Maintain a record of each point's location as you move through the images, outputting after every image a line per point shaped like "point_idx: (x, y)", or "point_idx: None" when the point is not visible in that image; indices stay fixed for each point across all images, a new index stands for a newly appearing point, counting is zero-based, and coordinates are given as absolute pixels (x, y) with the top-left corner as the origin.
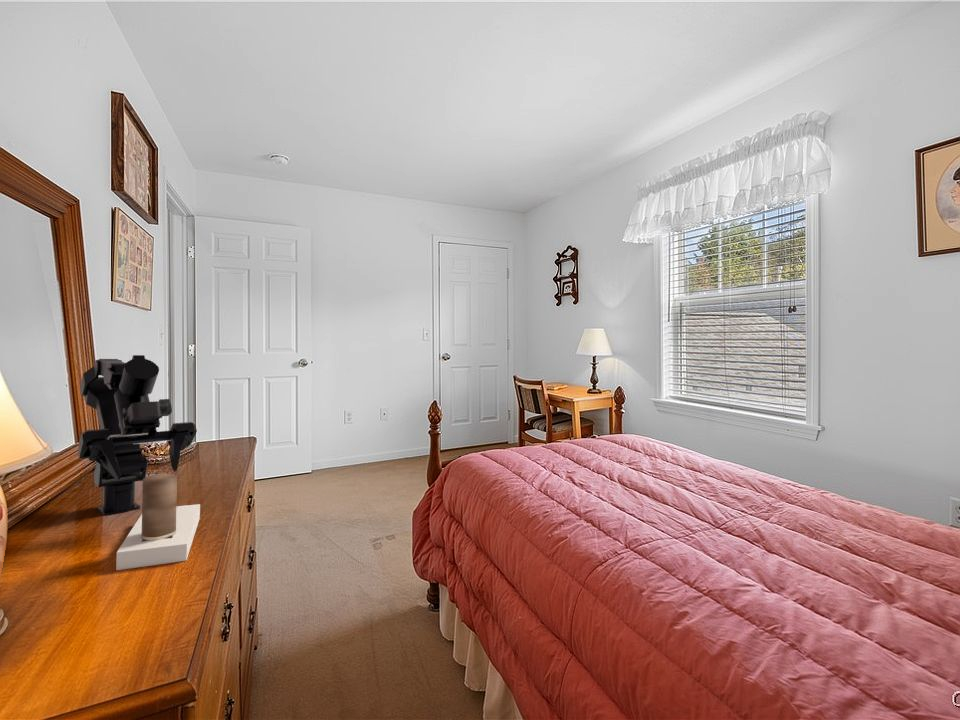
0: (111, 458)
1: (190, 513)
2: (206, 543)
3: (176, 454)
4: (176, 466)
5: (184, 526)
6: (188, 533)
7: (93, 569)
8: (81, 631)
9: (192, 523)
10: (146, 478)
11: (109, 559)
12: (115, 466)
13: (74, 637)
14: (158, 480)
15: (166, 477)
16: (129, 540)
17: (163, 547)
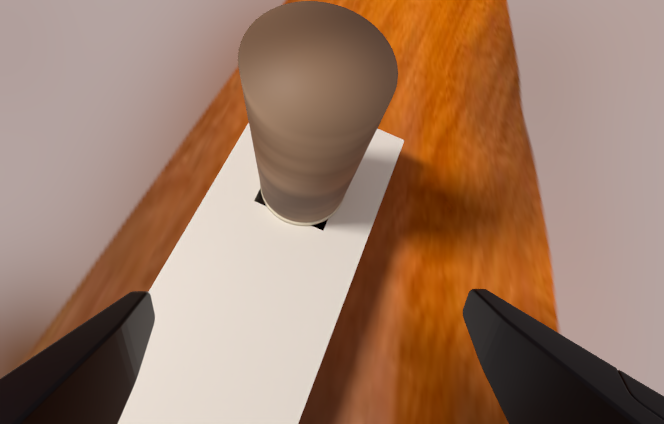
0: (637, 391)
1: (158, 320)
2: (196, 176)
3: (29, 384)
4: (128, 297)
5: (228, 202)
6: (242, 142)
7: (423, 203)
8: (445, 12)
9: (200, 211)
10: (377, 95)
11: (393, 236)
12: (545, 336)
13: (452, 5)
14: (339, 26)
15: (294, 48)
16: (370, 195)
17: None
